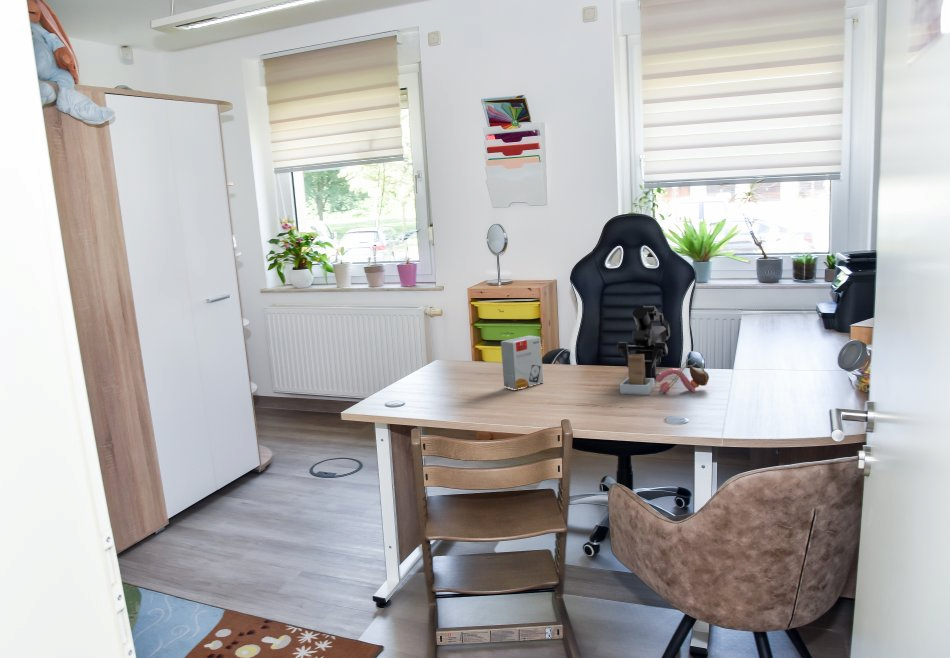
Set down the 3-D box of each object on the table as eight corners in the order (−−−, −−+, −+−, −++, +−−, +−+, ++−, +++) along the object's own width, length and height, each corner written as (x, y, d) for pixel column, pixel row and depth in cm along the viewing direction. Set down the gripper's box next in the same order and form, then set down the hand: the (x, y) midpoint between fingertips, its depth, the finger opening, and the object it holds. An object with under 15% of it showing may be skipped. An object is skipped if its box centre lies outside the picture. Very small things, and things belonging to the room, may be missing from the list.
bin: (627, 386, 269) (626, 377, 268) (654, 387, 264) (654, 378, 264) (620, 393, 260) (619, 384, 259) (648, 394, 255) (648, 385, 254)
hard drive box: (515, 391, 277) (511, 343, 273) (503, 388, 283) (499, 341, 280) (544, 383, 286) (540, 336, 282) (532, 380, 292) (528, 334, 288)
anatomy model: (650, 378, 263) (679, 345, 259) (682, 403, 263) (712, 370, 258) (651, 386, 253) (681, 351, 248) (684, 412, 252) (715, 378, 247)
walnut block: (632, 386, 265) (631, 354, 263) (645, 387, 263) (644, 354, 261) (629, 390, 261) (627, 356, 259) (642, 390, 259) (641, 357, 256)
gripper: (616, 322, 271) (610, 355, 263) (664, 321, 262) (660, 356, 254) (622, 337, 279) (617, 370, 271) (669, 337, 271) (665, 371, 263)
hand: (639, 367), depth 265 cm, fingers open, 9 cm apart
